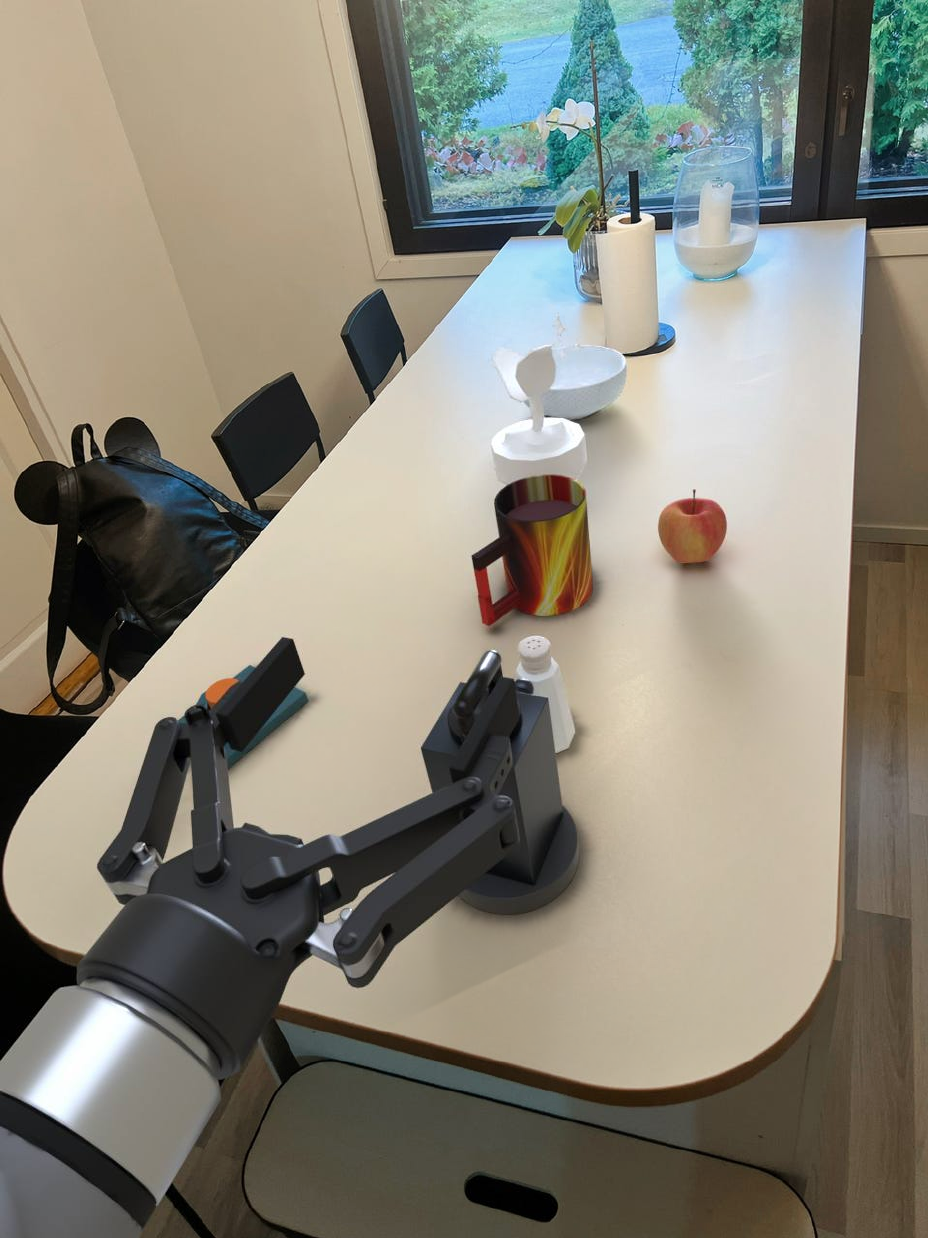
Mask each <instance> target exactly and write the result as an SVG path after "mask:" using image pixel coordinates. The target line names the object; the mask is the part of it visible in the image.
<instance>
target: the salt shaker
mask: <svg viewBox="0 0 928 1238" xmlns="http://www.w3.org/2000/svg"><path fill="white" fill-rule="evenodd" d="M551 649H552V645H551V642H550V641H549V639H548V638H546V637H544V636H541V635H531V636H528V637H525V638H523V639H522V640H521V641H520V642H519V643H518V645H517V652H518V655H519V663H518V665H517V667H516V669H515V680H517V679H520V678H525V679H528V680H529V681H531V683H532V684H533V687H534V693H533V695H537V696H542V697H548V699H549V707H550V715H551V723H552V730H553V738H554V746H555V753H556V754H558V753H560V752H562V751H566V750H568V749H570V746H571V744H572V741H573V739H574V736H575V734H576V731H577V730H576V727H575V724H574V720H573V716H572V711H571V708H570V704H569V700H568V695H567V691H566V689H565V684H564V680H563V677H562V673H561V670H560V667H559V664H558V663H557V662H556V660H555V659H554V658H553V657H552V652H551Z"/></svg>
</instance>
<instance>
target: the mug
mask: <svg viewBox="0 0 928 1238" xmlns="http://www.w3.org/2000/svg"><path fill="white" fill-rule="evenodd" d="M587 503H588V502H587V491H586V488H585V486H584V484H582V483H581V482H580V481H578V480H575V479H572V478H570V477H566V476H562V475H535V476H530V477H526V478H522V479H519V480H517V481H514V482H512V483H510V484H508V485H507V484H506V485H505V486H504V487H503V488H501V489H500V490H499V491H498V493H496V495H495V497H494V500H493V506H494V513H495V519H496V526H497V531H498V532H497V533H498V537H497V538H496V539H494V540H493V541H491V542H490V543H489V544H487V545H486V546H483V547H482V548H481V549H479V550H478V551H476V552H475V553H473V554H471V555H470V556H471V562H472V567H473V574H474V578H475V584H476V589H477V600H478V606H479V611H480V617H481V623H482V624H483V625H485V626H486V627H489V628H490V627H491V626H493V625H494V624H495V623H496V622H498V621H499V620H500V619H502V618H503V617H505V616H506V615H507V614H509V613H510V612H511V611H513V610H514V609H516V610H519V611H520V612H522V613H524V614H527V615H532V616H538V617H552V616H553V617H554V616H559V615H563V614H566V613H570V612H572V611H574V610H576V609H579V608H580V607H581V606H583V605H584V604H585V603H587V602H588V601H589V600H590V598H591V596H592V594H593V591H594V579H593V569H592V567H593V566H592V555H591V554H592V553H591V541H590V530H589V529H590V527H589V516H588V515H589V514H588V504H587ZM499 559H502V565H503V573H504V578H505V585H506V586H505V587H506V592H507V593H506V594H505V595H503V596H502V597H500V598H499V599H497V601H495V602H493V599H492V593H491V587H490V580H489V575H488V567H489V566H490V565H492V564H494V563H495V562H496V561H498V560H499Z"/></svg>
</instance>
